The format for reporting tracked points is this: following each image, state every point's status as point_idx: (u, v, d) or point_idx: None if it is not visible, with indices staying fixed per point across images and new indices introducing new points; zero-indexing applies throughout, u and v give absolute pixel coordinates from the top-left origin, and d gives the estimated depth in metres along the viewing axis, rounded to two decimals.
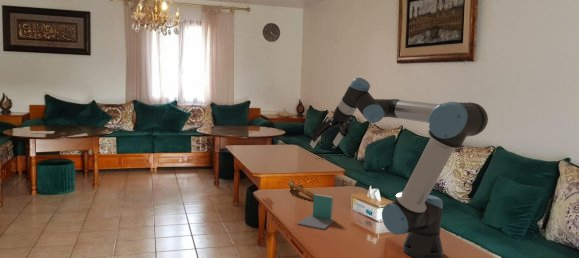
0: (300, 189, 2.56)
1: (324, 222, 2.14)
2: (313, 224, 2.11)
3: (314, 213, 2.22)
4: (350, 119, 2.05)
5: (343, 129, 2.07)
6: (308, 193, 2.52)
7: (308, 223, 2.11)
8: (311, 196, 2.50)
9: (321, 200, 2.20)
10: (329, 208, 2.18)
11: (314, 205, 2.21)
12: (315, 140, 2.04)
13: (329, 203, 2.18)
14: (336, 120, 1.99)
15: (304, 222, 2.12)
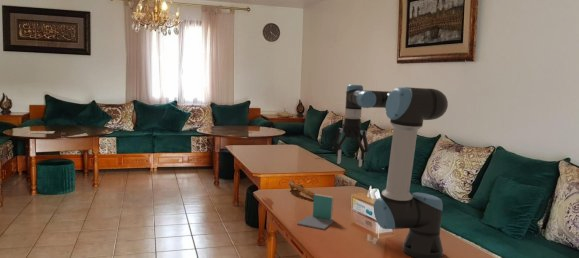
0: (301, 189, 2.57)
1: (324, 222, 2.14)
2: (313, 224, 2.11)
3: (314, 213, 2.22)
4: (363, 131, 2.17)
5: (358, 142, 2.18)
6: (309, 193, 2.52)
7: (308, 223, 2.11)
8: (312, 196, 2.50)
9: (321, 200, 2.20)
10: (329, 208, 2.18)
11: (314, 205, 2.21)
12: (337, 154, 2.23)
13: (329, 203, 2.18)
14: (345, 128, 2.20)
15: (304, 222, 2.12)
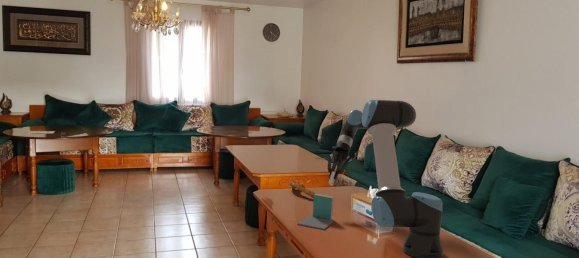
0: (302, 189, 2.57)
1: (324, 222, 2.14)
2: (313, 224, 2.11)
3: (314, 213, 2.22)
4: (350, 157, 2.34)
5: (339, 163, 2.33)
6: (310, 193, 2.53)
7: (308, 223, 2.11)
8: (313, 196, 2.51)
9: (321, 200, 2.20)
10: (329, 208, 2.18)
11: (314, 205, 2.21)
12: (330, 176, 2.30)
13: (329, 203, 2.18)
14: (334, 151, 2.39)
15: (304, 222, 2.12)
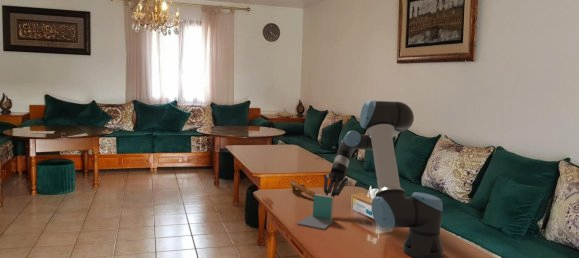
0: (303, 189, 2.57)
1: (324, 222, 2.14)
2: (313, 224, 2.11)
3: (314, 213, 2.22)
4: None
5: (335, 184, 2.31)
6: (311, 193, 2.53)
7: (308, 223, 2.11)
8: None
9: (321, 200, 2.20)
10: (329, 208, 2.18)
11: (314, 205, 2.21)
12: None
13: (329, 203, 2.18)
14: (330, 172, 2.37)
15: (304, 222, 2.12)
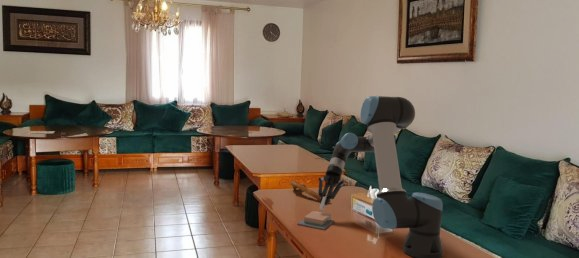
0: (304, 189, 2.57)
1: None
2: (313, 224, 2.11)
3: None
4: None
5: (330, 188, 2.24)
6: (312, 193, 2.53)
7: (308, 223, 2.11)
8: (315, 196, 2.51)
9: None
10: None
11: None
12: (321, 201, 2.21)
13: None
14: (325, 175, 2.30)
15: (304, 222, 2.12)
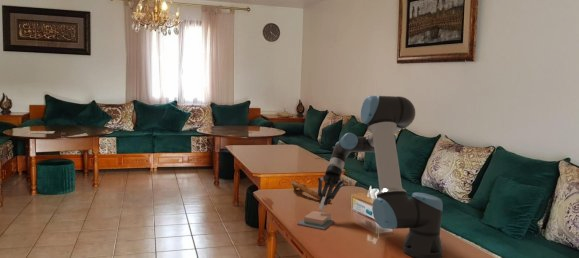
0: (304, 189, 2.57)
1: None
2: (313, 224, 2.11)
3: None
4: (341, 181, 2.25)
5: (330, 188, 2.23)
6: (313, 193, 2.53)
7: (308, 223, 2.11)
8: (316, 196, 2.51)
9: None
10: None
11: None
12: (321, 201, 2.21)
13: None
14: (325, 175, 2.29)
15: (304, 222, 2.12)
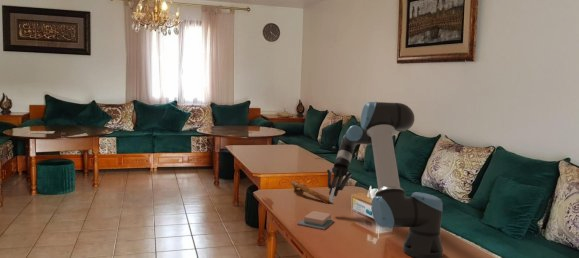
0: (305, 189, 2.57)
1: None
2: (313, 224, 2.11)
3: None
4: (350, 173, 2.35)
5: (339, 179, 2.34)
6: (314, 193, 2.53)
7: (308, 223, 2.11)
8: (317, 196, 2.51)
9: None
10: None
11: None
12: (330, 192, 2.31)
13: None
14: (334, 167, 2.39)
15: (304, 222, 2.12)
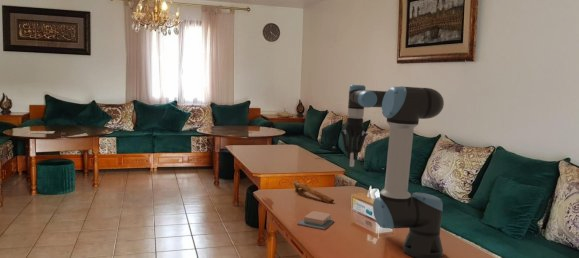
0: (307, 189, 2.58)
1: None
2: (313, 224, 2.11)
3: None
4: (365, 133, 2.21)
5: (355, 142, 2.23)
6: (315, 193, 2.54)
7: (308, 223, 2.11)
8: (319, 196, 2.52)
9: None
10: None
11: None
12: (350, 157, 2.25)
13: None
14: (347, 127, 2.24)
15: (304, 222, 2.12)
